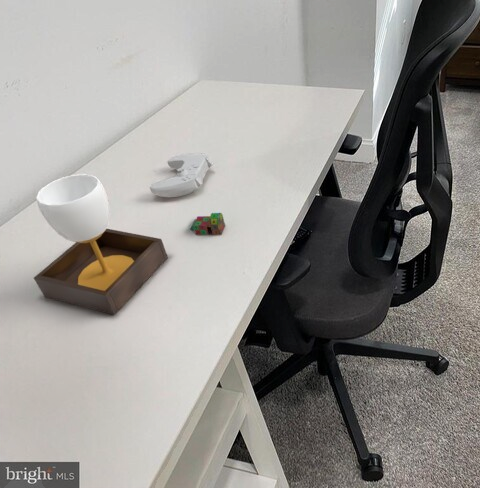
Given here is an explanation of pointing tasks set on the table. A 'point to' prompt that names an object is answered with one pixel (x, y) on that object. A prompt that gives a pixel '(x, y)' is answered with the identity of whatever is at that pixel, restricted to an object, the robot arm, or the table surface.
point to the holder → (82, 255)
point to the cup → (82, 223)
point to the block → (209, 224)
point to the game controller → (183, 175)
